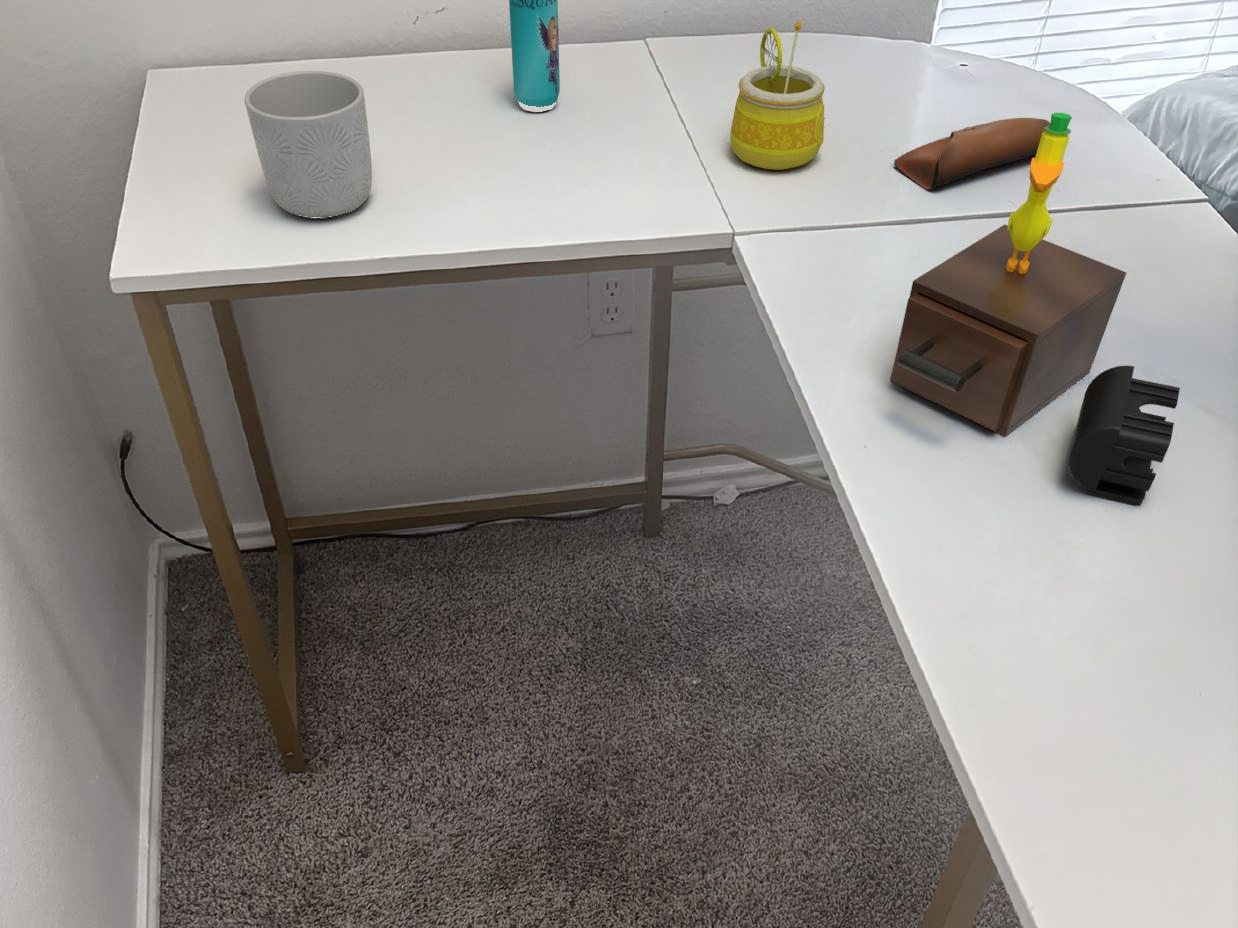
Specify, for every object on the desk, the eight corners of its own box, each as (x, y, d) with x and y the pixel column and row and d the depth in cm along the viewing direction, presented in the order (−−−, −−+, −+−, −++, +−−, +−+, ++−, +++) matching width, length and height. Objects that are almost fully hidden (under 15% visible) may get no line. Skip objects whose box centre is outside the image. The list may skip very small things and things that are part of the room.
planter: (292, 172, 133) (270, 65, 124) (393, 183, 131) (379, 75, 122) (251, 222, 125) (225, 112, 117) (358, 234, 124) (340, 123, 115)
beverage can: (547, 118, 142) (542, -28, 130) (506, 110, 143) (498, -35, 131) (567, 101, 145) (565, -43, 133) (527, 93, 146) (521, -50, 134)
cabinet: (1005, 437, 102) (1038, 335, 94) (890, 381, 107) (912, 280, 100) (1089, 372, 108) (1127, 272, 101) (977, 323, 114) (1004, 223, 106)
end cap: (1071, 427, 103) (1097, 357, 98) (1152, 445, 101) (1184, 374, 96) (1055, 491, 97) (1082, 420, 92) (1140, 510, 96) (1173, 439, 90)
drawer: (967, 451, 99) (992, 367, 93) (862, 398, 104) (879, 316, 98) (1074, 371, 107) (1104, 289, 101) (971, 325, 112) (993, 244, 105)
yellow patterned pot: (809, 182, 132) (826, 63, 122) (718, 168, 134) (727, 50, 124) (832, 137, 139) (850, 21, 129) (745, 124, 141) (756, 10, 131)
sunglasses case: (1002, 128, 139) (1036, 84, 133) (1028, 178, 139) (1064, 137, 133) (888, 161, 134) (918, 118, 127) (914, 214, 134) (946, 174, 127)
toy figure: (1031, 290, 99) (1078, 139, 89) (990, 283, 99) (1032, 132, 90) (1041, 254, 102) (1087, 105, 93) (1001, 247, 103) (1042, 99, 94)
